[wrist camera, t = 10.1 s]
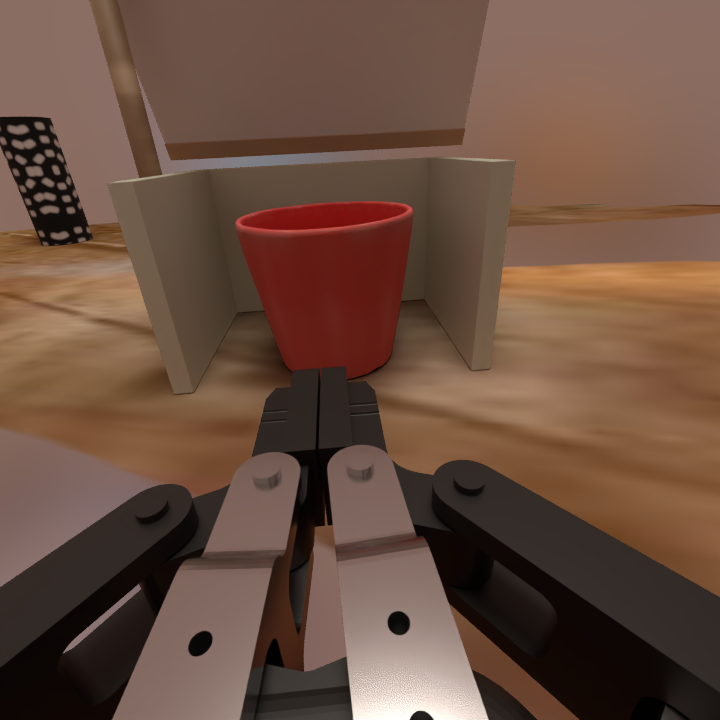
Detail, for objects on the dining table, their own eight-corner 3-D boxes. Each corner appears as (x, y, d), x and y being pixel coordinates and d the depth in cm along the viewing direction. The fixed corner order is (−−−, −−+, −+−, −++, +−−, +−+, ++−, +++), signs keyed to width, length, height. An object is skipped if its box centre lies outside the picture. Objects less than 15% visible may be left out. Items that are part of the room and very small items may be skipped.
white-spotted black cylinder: (102, 237, 78) (61, 118, 68) (61, 246, 71) (9, 115, 61) (74, 236, 80) (30, 121, 71) (31, 244, 74) (-23, 119, 64)
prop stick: (206, 336, 32) (105, -64, 21) (201, 343, 31) (91, -77, 20) (189, 337, 32) (78, -63, 21) (183, 345, 31) (63, -76, 20)
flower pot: (226, 375, 26) (190, 223, 22) (316, 317, 35) (304, 198, 30) (368, 413, 22) (360, 232, 17) (432, 336, 30) (438, 200, 26)
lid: (462, 144, 32) (458, 139, 32) (522, -166, 20) (515, -166, 20) (171, 160, 31) (173, 154, 31) (45, -158, 19) (52, -158, 19)
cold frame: (433, 294, 39) (439, 156, 33) (489, 369, 25) (515, 160, 20) (227, 308, 38) (196, 169, 32) (174, 394, 25) (106, 183, 19)
